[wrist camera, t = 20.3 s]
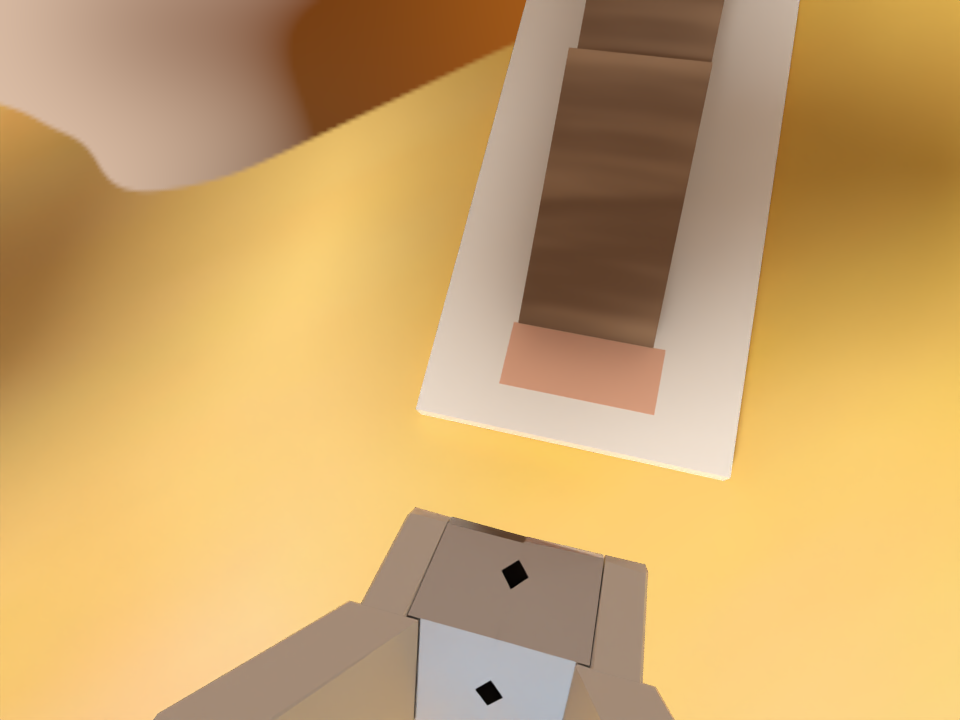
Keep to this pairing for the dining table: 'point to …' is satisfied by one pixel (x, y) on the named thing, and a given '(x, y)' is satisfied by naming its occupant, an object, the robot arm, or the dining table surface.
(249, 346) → the dining table surface
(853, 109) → the dining table surface
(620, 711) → the robot arm
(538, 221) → the domino
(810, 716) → the dining table surface
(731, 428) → the board
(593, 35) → the domino
